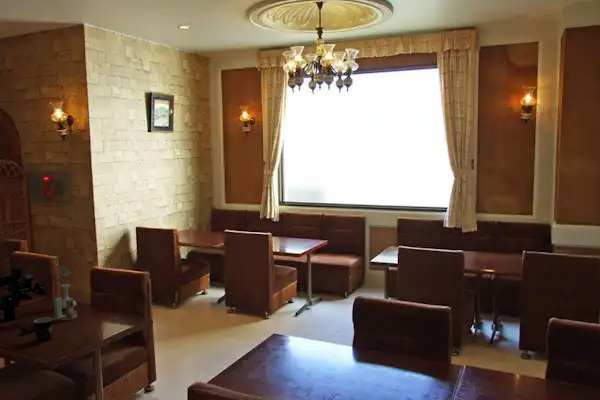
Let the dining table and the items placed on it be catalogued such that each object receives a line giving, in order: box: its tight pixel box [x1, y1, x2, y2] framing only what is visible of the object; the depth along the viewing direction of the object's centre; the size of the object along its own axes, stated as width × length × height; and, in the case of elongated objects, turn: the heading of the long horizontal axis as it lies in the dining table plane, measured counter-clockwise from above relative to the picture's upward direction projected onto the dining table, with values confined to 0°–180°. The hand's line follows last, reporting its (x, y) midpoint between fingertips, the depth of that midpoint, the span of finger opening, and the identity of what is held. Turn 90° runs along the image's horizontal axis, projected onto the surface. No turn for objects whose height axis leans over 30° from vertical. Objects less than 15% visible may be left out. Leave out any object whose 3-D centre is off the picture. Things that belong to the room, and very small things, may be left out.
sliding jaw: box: [53, 296, 63, 318], centre depth 280 cm, size 2×6×10 cm, turn 3°
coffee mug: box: [33, 316, 55, 343], centre depth 249 cm, size 12×9×10 cm
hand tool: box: [20, 316, 55, 336], centre depth 264 cm, size 19×4×5 cm, turn 155°
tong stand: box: [52, 297, 78, 321], centre depth 281 cm, size 12×6×11 cm, turn 93°
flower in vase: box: [57, 266, 77, 310], centre depth 301 cm, size 13×11×25 cm
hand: (39, 296), depth 270 cm, fingers open, 9 cm apart
